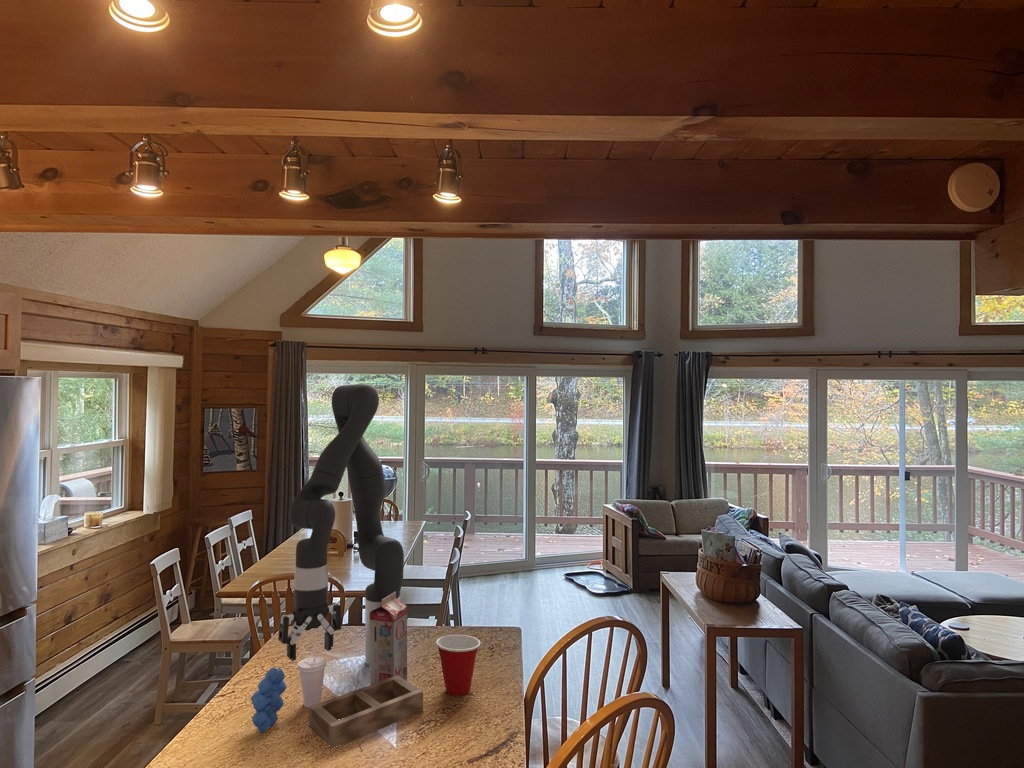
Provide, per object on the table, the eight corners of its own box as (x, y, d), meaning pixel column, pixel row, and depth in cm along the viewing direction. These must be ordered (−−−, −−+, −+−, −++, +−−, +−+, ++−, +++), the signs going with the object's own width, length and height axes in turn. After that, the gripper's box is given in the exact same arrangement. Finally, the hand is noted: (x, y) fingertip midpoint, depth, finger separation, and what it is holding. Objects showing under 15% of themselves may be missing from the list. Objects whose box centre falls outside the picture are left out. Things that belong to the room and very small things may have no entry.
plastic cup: (490, 689, 151) (489, 639, 151) (457, 705, 143) (456, 653, 143) (460, 675, 158) (459, 628, 159) (427, 690, 151) (426, 641, 151)
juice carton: (407, 680, 156) (406, 592, 156) (393, 693, 150) (393, 601, 150) (384, 677, 158) (383, 590, 158) (370, 688, 152) (369, 598, 152)
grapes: (264, 711, 141) (264, 658, 142) (293, 713, 141) (292, 659, 141) (236, 740, 130) (236, 682, 130) (266, 741, 129) (266, 683, 129)
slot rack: (397, 693, 149) (397, 675, 149) (423, 711, 141) (423, 691, 141) (309, 727, 134) (309, 706, 134) (332, 749, 126) (332, 726, 126)
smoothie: (318, 712, 141) (317, 650, 141) (292, 709, 142) (292, 647, 142) (331, 698, 147) (331, 639, 147) (307, 696, 148) (306, 637, 149)
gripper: (332, 575, 153) (331, 642, 152) (274, 586, 143) (273, 657, 143) (346, 582, 147) (346, 651, 147) (287, 594, 138) (286, 668, 137)
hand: (310, 654), depth 145 cm, fingers open, 8 cm apart
